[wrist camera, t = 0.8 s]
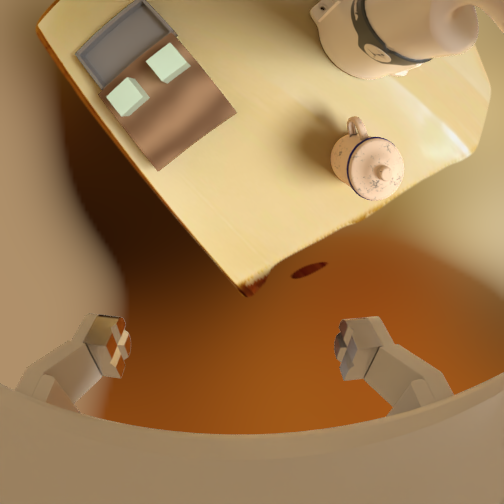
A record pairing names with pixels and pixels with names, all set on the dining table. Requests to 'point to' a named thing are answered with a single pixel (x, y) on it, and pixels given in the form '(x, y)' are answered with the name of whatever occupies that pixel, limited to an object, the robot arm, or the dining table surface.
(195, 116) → the walnut bench
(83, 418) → the robot arm
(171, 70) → the mint block
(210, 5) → the dining table surface
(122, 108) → the mint block
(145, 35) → the charcoal tray
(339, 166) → the teacup with lid
